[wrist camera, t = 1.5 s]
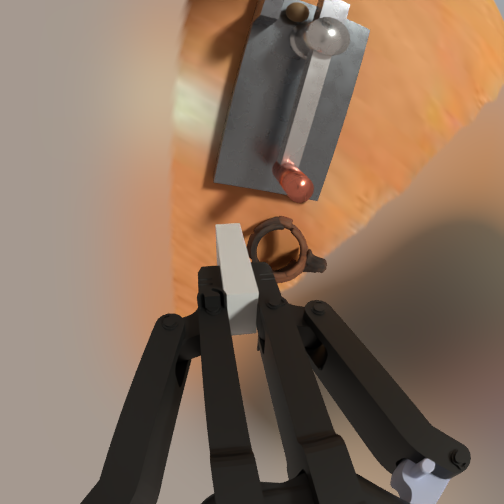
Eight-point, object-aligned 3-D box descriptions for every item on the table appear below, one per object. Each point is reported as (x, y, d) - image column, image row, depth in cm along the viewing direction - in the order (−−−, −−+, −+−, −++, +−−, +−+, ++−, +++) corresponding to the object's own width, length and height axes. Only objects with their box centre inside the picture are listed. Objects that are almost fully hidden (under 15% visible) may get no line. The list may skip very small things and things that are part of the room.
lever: (304, 0, 23) (337, -20, 15) (339, 13, 24) (379, 0, 16) (257, 169, 34) (275, 198, 27) (291, 176, 35) (317, 206, 28)
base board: (259, -6, 24) (272, -24, 18) (362, 31, 27) (392, 26, 21) (212, 177, 36) (214, 198, 30) (312, 195, 40) (331, 217, 34)
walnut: (285, 2, 23) (292, -3, 21) (307, 9, 24) (315, 4, 22) (280, 19, 24) (287, 15, 22) (302, 26, 25) (309, 23, 23)
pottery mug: (241, 271, 46) (238, 281, 38) (252, 212, 45) (251, 208, 37) (315, 285, 46) (327, 296, 38) (327, 226, 45) (341, 226, 37)
